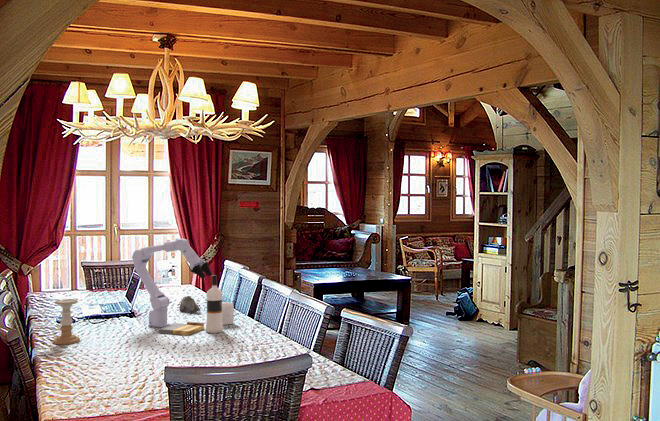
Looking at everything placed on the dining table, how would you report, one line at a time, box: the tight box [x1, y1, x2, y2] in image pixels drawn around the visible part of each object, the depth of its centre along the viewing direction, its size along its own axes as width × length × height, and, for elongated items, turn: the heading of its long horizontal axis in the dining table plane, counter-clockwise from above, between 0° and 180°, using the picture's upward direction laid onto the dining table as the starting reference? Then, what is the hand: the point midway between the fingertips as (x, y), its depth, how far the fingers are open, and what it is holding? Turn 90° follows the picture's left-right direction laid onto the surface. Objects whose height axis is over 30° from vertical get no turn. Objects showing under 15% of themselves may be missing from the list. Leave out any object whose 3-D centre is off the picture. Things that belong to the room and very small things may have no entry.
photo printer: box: [222, 301, 235, 326], centre depth 349 cm, size 10×4×12 cm, turn 123°
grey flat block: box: [158, 322, 187, 335], centre depth 334 cm, size 8×16×2 cm, turn 163°
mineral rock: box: [178, 295, 201, 313], centre depth 384 cm, size 13×11×10 cm
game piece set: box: [224, 344, 268, 360], centre depth 287 cm, size 19×20×4 cm
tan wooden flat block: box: [172, 321, 205, 336], centre depth 331 cm, size 9×16×3 cm, turn 163°
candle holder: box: [52, 298, 81, 346], centre depth 307 cm, size 12×12×20 cm
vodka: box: [205, 274, 224, 334], centre depth 331 cm, size 9×9×30 cm
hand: (207, 276), depth 337 cm, fingers open, 7 cm apart
